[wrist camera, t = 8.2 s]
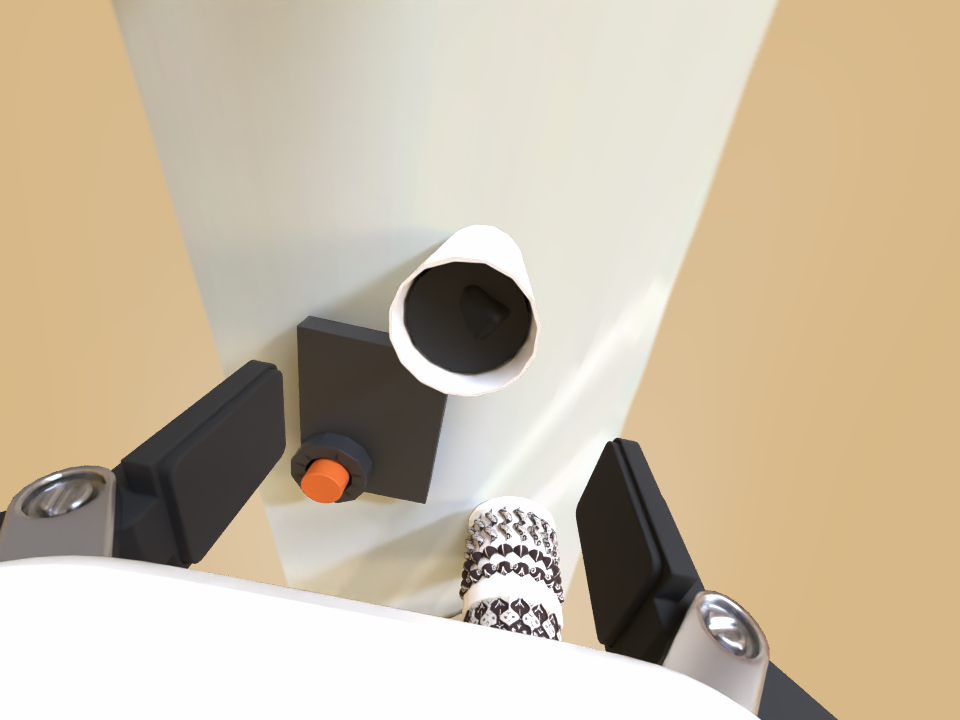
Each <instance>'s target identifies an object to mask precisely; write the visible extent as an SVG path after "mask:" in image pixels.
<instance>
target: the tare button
mask: <svg viewBox="0 0 960 720" xmlns="http://www.w3.org/2000/svg"><path fill="white" fill-rule="evenodd" d="M348 481H349V472H348V470H347V468H346V467H345V466H344V465H342V464H341V463H339V462H338V461H336V460H333V459H328V458H320V459H317V460H316V461H314V462H313V463H312V464H311V466H310V468H309V469H308V471H307V472H306V474H305V475H304V477H303V479H302V480H301V488H302V490H303V492H304V493H305V494H306V495H307V496H308V497H309V498H311V499H312V500H315V501H317V502H321V503H332V502H335V501H337V500H338V499H339V498H340V497H341V495H342V493H343V491H344V489H345V487H346V485H347V483H348Z"/></svg>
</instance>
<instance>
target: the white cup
mask: <svg viewBox="0 0 960 720" xmlns="http://www.w3.org/2000/svg"><path fill="white" fill-rule="evenodd" d="M540 332H541V325H540V321H539V317H538V313H537V309H536V305H535V301H534V298H533V294H532V291H531V287H530V284H529V280H528V277H527V274H526V270H525V267H524V263H523V260H522V256H521V253H520V250H519V248H518V247H517V246H516V244H515V243H514V242H513V240H512V239H511V238H510V236H508V235H507V234H505V233H503V232H501V231H500V230H498V229H496V228H494V227H490V226H481V225H474V226H470V227H467V228H464V229H461V230H458V231H457V232H456V233H455V234H454V235H452V236H451V237H450V238H449V239H448V240H447V241H446V242H445V243H444V244H443V245H441V246H440V247H439V248H438V249H437V250H436V251H435V252H434V253H433V254H432V255H431V256H430V257H429V258H428V259H427V260H426V261H425V262H424V263H422V264H421V265H420V266H419V267H418V268H417V269H416V270H415V271H414V272H413V273H412V274H411V275H410V276H409V277H408V278H407V279H406V280H404V281H403V282H402V283H401V284H400V286H399V289H398V291H397V293H396V295H395V298H394V300H393V302H392V304H391V307H390V309H389V338H390V340H391V342H392V344H393V347H394V349H395V351H396V353H397V355H398V358H399V360H400V362H401V363H402V364H403V365H404V366H405V367H406V368H407V369H408V370H409V371H410V372H411V373H412V374H413V375H414V376H415V377H416V378H417V379H418V380H419V381H420V382H422V383H424V384H426V385H428V386H430V387H432V388H434V389H436V390H438V391H440V392H442V393H445V394H452V395H460V396H468V397H474V396H479V395H483V394H488V393H493V392H498V391H500V390H501V389H503V388H504V387H506V386H507V385H509V384H511V383H512V382H514V381H515V380H517V379H518V378H520V377H521V376H522V375H523V373H524V372H525V370H526V369H527V367H528V366H529V365H530V363H531V362H532V360H533V359H534V358H535V356H536V353H537V348H538V343H539V338H540Z"/></svg>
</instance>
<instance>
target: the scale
mask: <svg viewBox="0 0 960 720" xmlns="http://www.w3.org/2000/svg"><path fill="white" fill-rule="evenodd" d="M297 340H298V370H299V399H300V429H301V447H300V448H299V449H298V451H297V452H296V454H295V455H294V456H293V458H292V459H291V475H292V477H293V478H294V480H295V481H296V482H297V484H298V485H299V486H300V488H301V480H302V479H303V477H304V475H305V474H306V472H307V471H308V469H309V468H310V466H311V464H312V463H313V462H314V461H316V460H317V459H320V458H328V459H333V460H336V461H338V462H339V463H341V464H342V465H344V466H345V467H346V468H347V470H348V472H349V481H348V483H347V485H346V487H345V489H344V491H343V493H342V495H341V497H340V498H339V499H338V500H337V501H335V503H340V502H346V501H351V500H355V499H356V498H357V497H358V496H360V495H361V494H362V493H363V492H368V493H373V494H378V495H383V496H388V497H393V498H398V499H403V500H408V501H413V502H417V503H422V504H425V503H426V500H427V496H428V492H429V487H430V482H431V477H432V472H433V467H434V462H435V457H436V452H437V447H438V442H439V437H440V432H441V427H442V422H443V417H444V412H445V407H446V401H447V396H448V394H445V393H442V392H440V391H438V390H436V389H434V388H432V387H430V386H428V385H426V384H424V383H422V382H420V381H419V380H418V379H417V378H416V377H415V376H414V375H413V374H412V373H411V372H410V371H409V370H408V369H407V368H406V367H405V366H404V365H403V364H402V363H401V362H400V360H399V358H398V355H397V353H396V351H395V349H394V347H393V344H392V342H391V340H390V338H389V333H386V332H382V331H377V330H372V329H368V328H363V327H358V326H354V325H349V324H345V323H340V322H335V321H331V320H326V319H321V318H317V317H312V316H309V317H308V318H306V319H305V320H304V321H303V322H301V323H300V324H299V325H298V326H297ZM301 489H302V488H301Z"/></svg>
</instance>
